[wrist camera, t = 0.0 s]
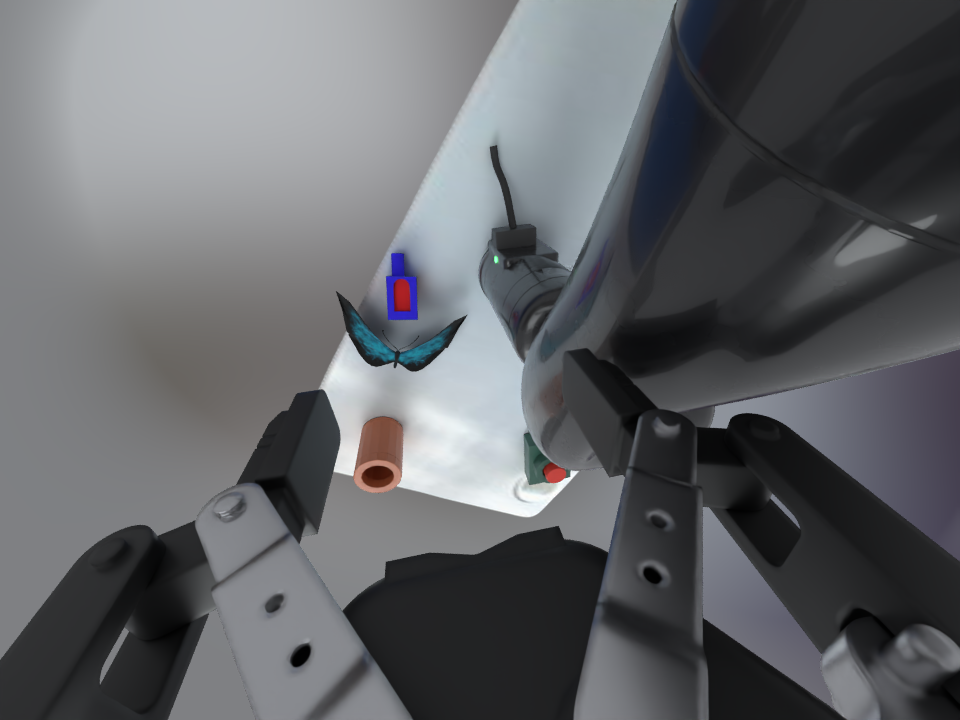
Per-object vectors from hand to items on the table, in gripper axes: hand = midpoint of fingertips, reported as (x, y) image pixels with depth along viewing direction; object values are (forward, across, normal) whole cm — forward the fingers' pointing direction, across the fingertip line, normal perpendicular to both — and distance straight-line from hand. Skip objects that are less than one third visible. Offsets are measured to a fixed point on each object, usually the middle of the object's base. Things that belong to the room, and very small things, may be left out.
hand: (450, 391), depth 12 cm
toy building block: (+33, +4, +11) cm, 35 cm away
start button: (+32, -16, +43) cm, 56 cm away
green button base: (+37, -16, +43) cm, 59 cm away
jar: (+37, +12, +32) cm, 50 cm away
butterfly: (+36, +7, +19) cm, 42 cm away
